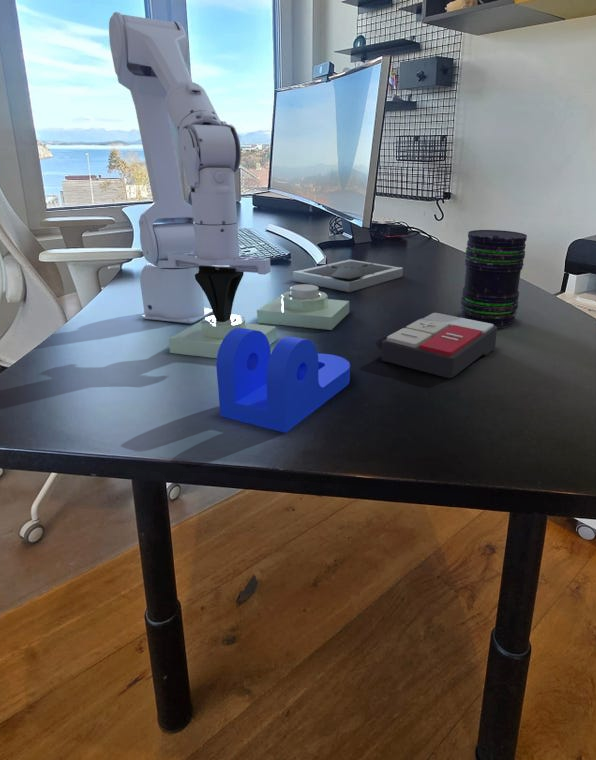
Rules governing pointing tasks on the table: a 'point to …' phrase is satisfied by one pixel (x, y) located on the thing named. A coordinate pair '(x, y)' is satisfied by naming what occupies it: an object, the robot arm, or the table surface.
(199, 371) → the table surface
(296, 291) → the full button
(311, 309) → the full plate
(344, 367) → the bracket
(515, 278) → the storage jar
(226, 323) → the half button
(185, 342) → the pale green button base
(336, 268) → the picture frame
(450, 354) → the calculator
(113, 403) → the table surface
